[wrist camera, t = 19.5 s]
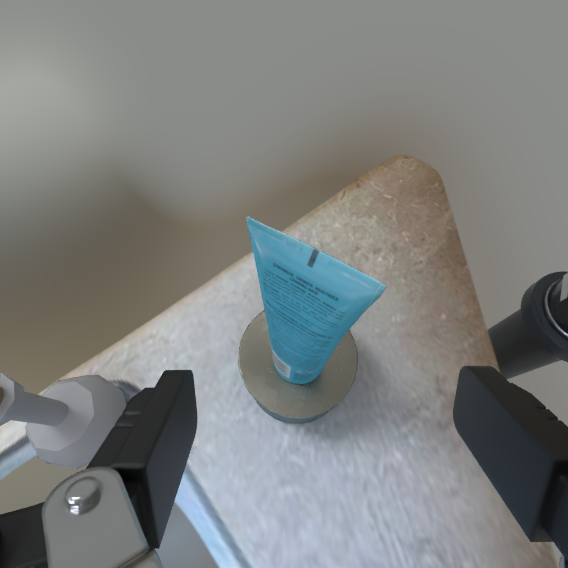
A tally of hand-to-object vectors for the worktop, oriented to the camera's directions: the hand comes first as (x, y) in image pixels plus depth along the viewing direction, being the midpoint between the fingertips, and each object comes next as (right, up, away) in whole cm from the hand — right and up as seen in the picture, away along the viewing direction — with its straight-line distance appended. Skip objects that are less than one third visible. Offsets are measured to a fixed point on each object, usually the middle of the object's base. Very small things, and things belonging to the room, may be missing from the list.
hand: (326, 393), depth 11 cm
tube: (0, -4, +23) cm, 24 cm away
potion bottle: (-22, -12, +28) cm, 38 cm away
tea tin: (0, -7, +30) cm, 31 cm away
